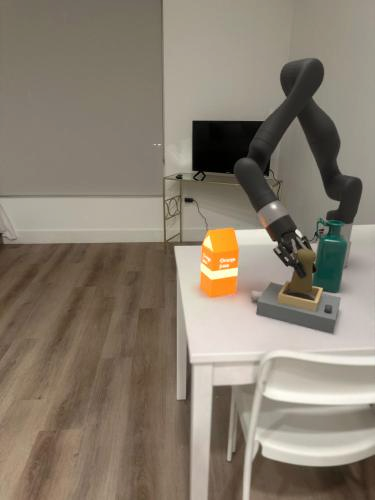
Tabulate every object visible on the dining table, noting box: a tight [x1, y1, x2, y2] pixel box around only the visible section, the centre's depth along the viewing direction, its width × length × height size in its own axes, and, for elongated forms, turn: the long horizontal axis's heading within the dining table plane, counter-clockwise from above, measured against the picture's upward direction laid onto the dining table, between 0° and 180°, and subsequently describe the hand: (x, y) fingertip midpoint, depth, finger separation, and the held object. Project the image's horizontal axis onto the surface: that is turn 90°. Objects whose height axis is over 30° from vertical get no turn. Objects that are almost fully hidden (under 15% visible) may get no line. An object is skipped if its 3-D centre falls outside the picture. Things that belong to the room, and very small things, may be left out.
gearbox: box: [250, 280, 342, 335], centre depth 101 cm, size 24×14×6 cm, turn 63°
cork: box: [289, 249, 316, 293], centre depth 97 cm, size 6×6×11 cm
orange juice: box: [199, 227, 240, 299], centre depth 109 cm, size 8×9×20 cm
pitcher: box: [312, 217, 348, 293], centre depth 114 cm, size 10×8×22 cm
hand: (309, 274), depth 96 cm, fingers closed on cork, 4 cm apart
